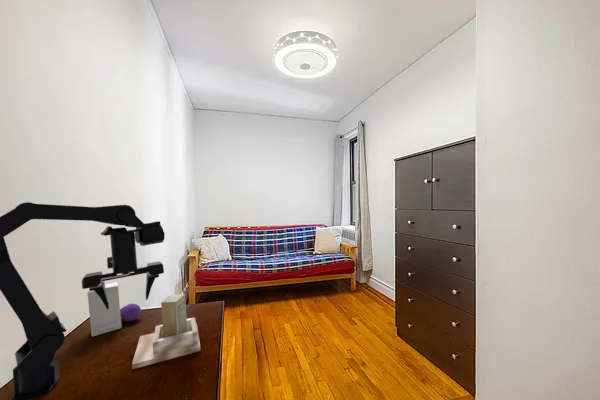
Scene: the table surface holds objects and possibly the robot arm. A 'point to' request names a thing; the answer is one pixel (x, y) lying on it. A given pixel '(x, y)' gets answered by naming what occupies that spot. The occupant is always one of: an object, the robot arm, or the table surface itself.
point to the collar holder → (166, 345)
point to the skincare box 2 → (174, 315)
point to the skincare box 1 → (104, 310)
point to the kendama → (130, 312)
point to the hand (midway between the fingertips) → (128, 303)
